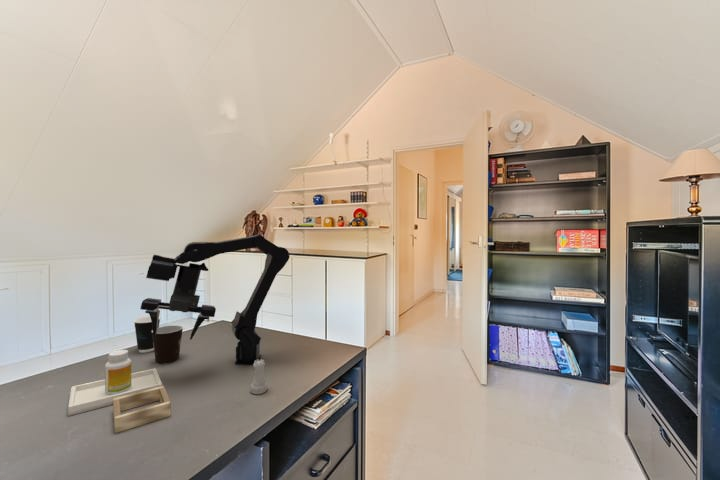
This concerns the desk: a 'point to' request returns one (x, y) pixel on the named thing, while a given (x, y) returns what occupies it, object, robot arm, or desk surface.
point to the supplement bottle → (118, 372)
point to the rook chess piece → (258, 378)
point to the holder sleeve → (140, 415)
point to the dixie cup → (144, 333)
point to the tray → (96, 397)
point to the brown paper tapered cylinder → (167, 343)
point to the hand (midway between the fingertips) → (172, 338)
